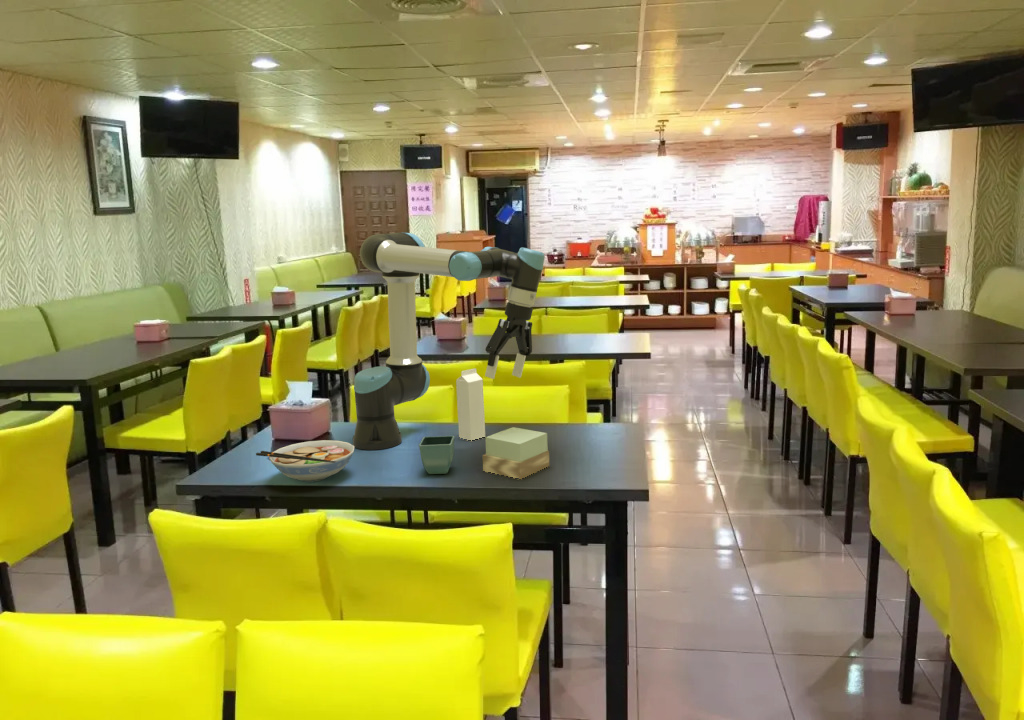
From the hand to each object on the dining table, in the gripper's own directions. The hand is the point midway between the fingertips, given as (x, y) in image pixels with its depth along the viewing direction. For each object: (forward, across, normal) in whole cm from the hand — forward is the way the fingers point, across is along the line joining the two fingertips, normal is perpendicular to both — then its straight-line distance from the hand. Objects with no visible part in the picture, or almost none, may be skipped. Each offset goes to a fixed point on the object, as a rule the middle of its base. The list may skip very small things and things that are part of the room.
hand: (503, 376), depth 221 cm
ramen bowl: (+37, -35, +30) cm, 59 cm away
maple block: (+23, -4, -14) cm, 27 cm away
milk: (+26, +15, +16) cm, 34 cm away
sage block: (+18, -4, -13) cm, 22 cm away
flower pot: (+28, -15, +4) cm, 32 cm away
